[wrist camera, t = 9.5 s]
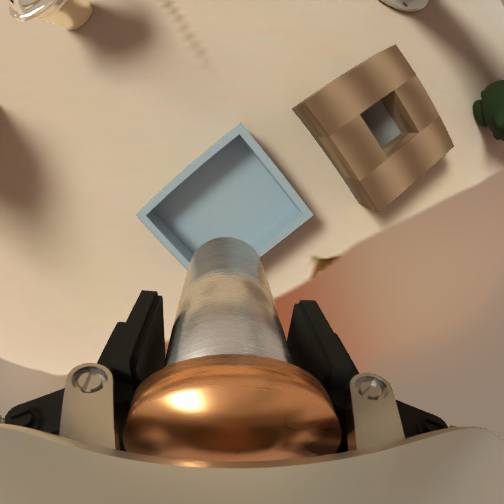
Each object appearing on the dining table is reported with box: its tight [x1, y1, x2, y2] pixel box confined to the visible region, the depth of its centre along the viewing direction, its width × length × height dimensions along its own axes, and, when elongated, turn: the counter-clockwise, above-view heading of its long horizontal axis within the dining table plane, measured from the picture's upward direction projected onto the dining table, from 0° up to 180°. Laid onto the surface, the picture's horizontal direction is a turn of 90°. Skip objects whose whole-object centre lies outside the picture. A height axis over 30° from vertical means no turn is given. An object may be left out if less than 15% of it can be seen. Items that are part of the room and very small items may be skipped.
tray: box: [136, 123, 313, 271], centre depth 31 cm, size 14×12×4 cm
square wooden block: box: [292, 44, 454, 212], centre depth 29 cm, size 14×14×5 cm
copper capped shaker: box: [123, 237, 342, 462], centre depth 11 cm, size 5×5×11 cm
